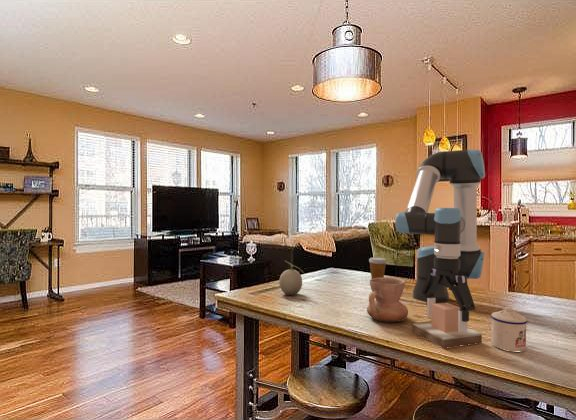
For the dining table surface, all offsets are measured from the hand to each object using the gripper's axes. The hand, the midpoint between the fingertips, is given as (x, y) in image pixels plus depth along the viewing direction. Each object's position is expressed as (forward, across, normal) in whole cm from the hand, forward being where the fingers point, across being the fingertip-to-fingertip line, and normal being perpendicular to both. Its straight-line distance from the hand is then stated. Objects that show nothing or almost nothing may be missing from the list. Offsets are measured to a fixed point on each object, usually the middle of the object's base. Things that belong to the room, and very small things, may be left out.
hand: (446, 324), depth 111 cm
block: (+1, 0, 0) cm, 1 cm away
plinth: (+4, 0, 0) cm, 4 cm away
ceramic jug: (+4, -21, -8) cm, 23 cm away
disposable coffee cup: (+4, -80, +25) cm, 84 cm away
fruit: (+4, -64, -30) cm, 71 cm away
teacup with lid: (+4, +11, +14) cm, 18 cm away
